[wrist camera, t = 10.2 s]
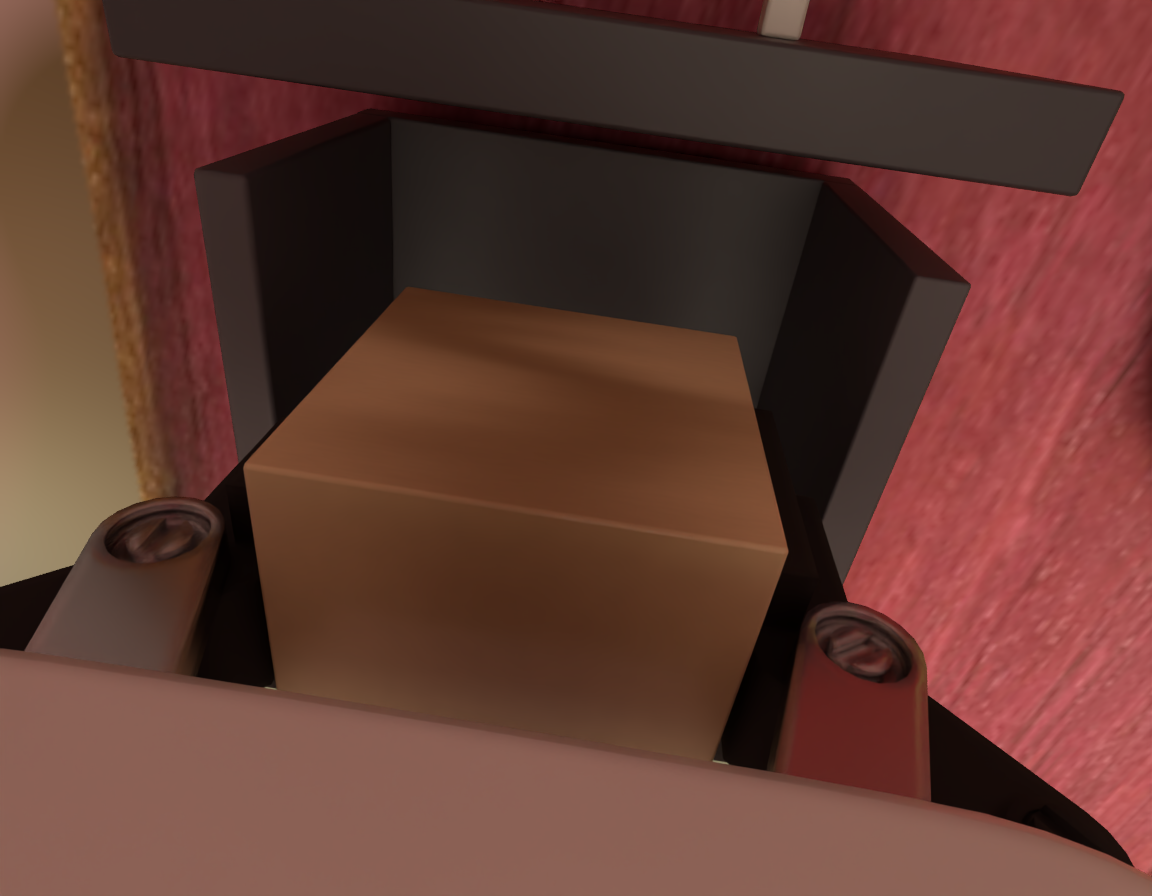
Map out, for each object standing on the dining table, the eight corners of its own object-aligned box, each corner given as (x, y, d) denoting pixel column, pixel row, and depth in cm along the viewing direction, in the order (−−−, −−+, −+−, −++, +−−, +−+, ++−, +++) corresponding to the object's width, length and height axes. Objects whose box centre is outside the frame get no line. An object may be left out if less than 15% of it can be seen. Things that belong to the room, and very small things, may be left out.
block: (407, 542, 13) (289, 791, 9) (406, 284, 11) (239, 463, 6) (672, 585, 13) (679, 856, 9) (737, 336, 11) (791, 551, 6)
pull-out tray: (322, -313, 13) (-30, -654, 6) (1010, -219, 13) (1398, -469, 6) (361, 488, 22) (236, 690, 16) (755, 550, 22) (798, 781, 15)
